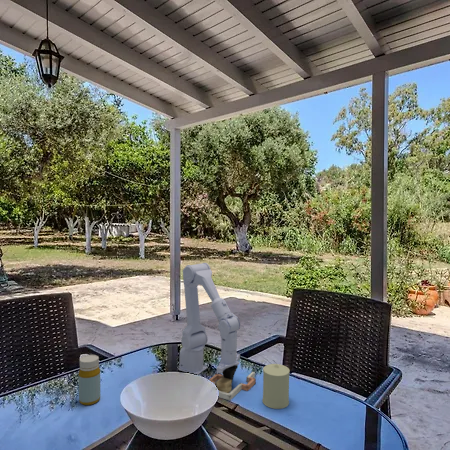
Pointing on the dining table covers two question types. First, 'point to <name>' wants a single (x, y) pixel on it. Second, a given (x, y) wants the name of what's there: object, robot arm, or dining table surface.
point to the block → (224, 385)
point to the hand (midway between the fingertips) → (228, 384)
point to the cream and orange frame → (240, 387)
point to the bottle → (89, 380)
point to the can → (276, 386)
